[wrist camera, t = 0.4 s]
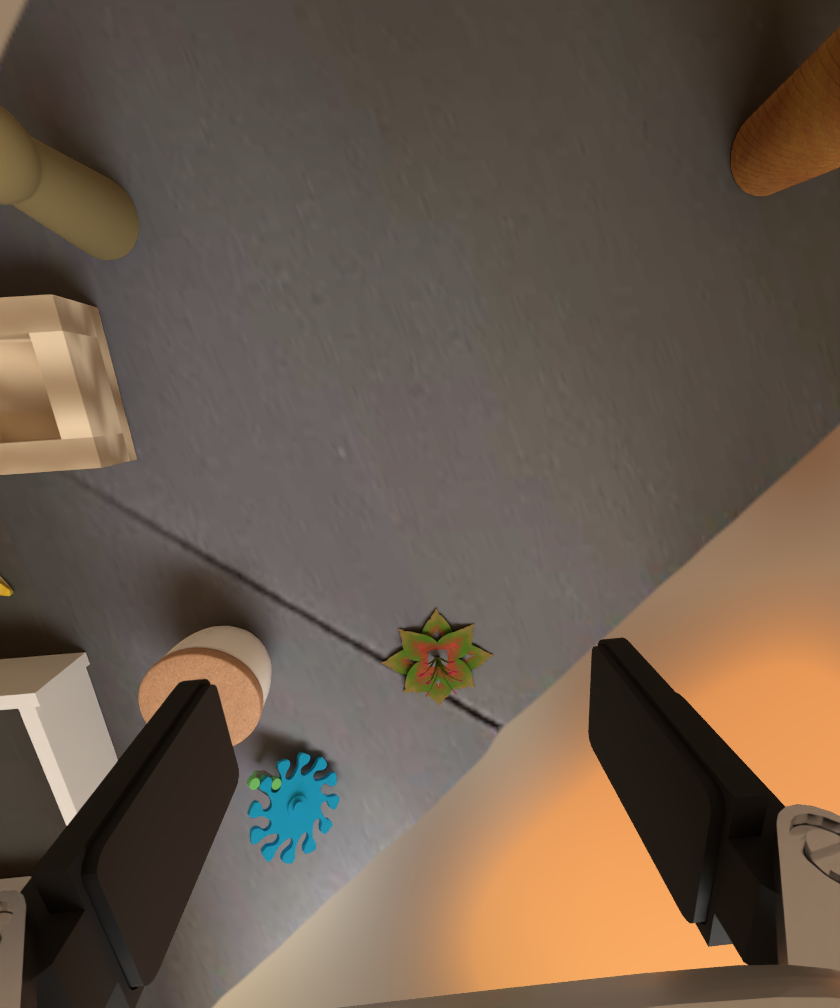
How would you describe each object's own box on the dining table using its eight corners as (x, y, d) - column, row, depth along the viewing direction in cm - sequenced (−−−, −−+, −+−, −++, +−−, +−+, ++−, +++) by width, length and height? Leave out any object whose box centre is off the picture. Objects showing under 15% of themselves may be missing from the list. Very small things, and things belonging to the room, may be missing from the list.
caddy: (-60, 317, 33) (-129, 305, 29) (97, 307, 33) (52, 294, 29) (-5, 469, 36) (-60, 479, 32) (137, 459, 37) (101, 467, 32)
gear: (357, 783, 47) (303, 886, 41) (337, 772, 52) (286, 863, 46) (287, 730, 45) (219, 831, 39) (273, 723, 49) (210, 813, 43)
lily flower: (435, 587, 42) (439, 609, 38) (511, 650, 45) (523, 678, 40) (362, 660, 44) (357, 689, 40) (439, 716, 47) (442, 750, 42)
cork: (54, 169, 31) (-128, 49, 20) (135, 179, 31) (-3, 66, 21) (66, 255, 32) (-98, 187, 22) (142, 264, 33) (18, 200, 22)
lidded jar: (163, 635, 42) (97, 701, 33) (247, 590, 41) (203, 645, 32) (223, 707, 44) (177, 786, 35) (303, 667, 44) (277, 737, 35)
